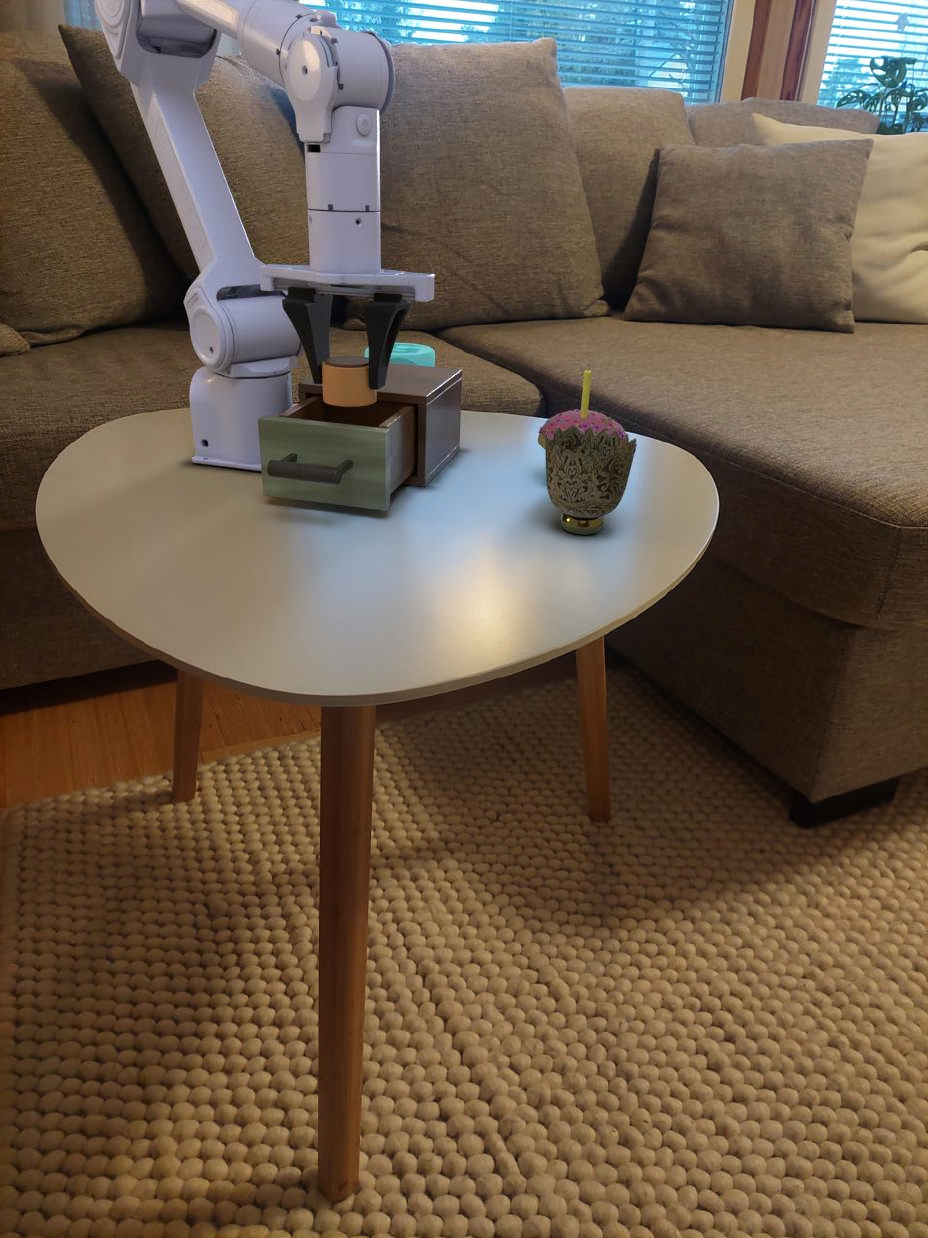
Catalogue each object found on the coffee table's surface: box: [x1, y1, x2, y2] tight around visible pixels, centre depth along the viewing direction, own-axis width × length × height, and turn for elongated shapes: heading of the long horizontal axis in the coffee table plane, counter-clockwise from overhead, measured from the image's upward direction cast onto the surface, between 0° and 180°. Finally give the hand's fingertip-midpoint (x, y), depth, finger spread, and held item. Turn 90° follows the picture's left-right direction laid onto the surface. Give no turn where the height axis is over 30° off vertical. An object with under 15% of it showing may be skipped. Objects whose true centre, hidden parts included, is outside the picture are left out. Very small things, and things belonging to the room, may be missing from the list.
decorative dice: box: [363, 342, 436, 367], centre depth 103 cm, size 8×8×8 cm
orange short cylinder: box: [322, 355, 377, 407], centre depth 75 cm, size 5×5×3 cm
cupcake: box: [537, 361, 628, 450], centre depth 83 cm, size 9×8×12 cm
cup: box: [544, 425, 638, 536], centre depth 73 cm, size 8×7×8 cm
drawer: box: [258, 394, 419, 512], centre depth 77 cm, size 16×11×7 cm
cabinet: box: [297, 363, 463, 488], centre depth 88 cm, size 13×13×9 cm
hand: (349, 384), depth 75 cm, fingers closed on orange short cylinder, 4 cm apart
